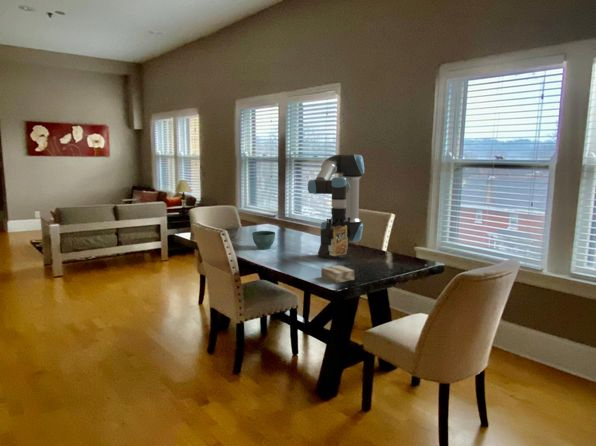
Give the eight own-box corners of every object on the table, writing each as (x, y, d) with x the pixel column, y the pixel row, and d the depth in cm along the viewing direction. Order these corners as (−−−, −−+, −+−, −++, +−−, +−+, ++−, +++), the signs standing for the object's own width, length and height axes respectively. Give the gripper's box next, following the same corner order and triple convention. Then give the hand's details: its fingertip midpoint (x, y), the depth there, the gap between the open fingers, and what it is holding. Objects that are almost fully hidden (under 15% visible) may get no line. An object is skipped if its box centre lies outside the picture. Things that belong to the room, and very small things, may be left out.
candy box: (334, 256, 224) (334, 227, 222) (328, 255, 227) (329, 226, 225) (347, 254, 229) (347, 225, 227) (341, 252, 232) (342, 224, 230)
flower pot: (278, 249, 300) (278, 234, 298) (255, 251, 295) (255, 235, 293) (271, 245, 315) (271, 230, 313) (249, 246, 310) (249, 231, 308)
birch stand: (339, 273, 239) (339, 265, 238) (354, 279, 228) (354, 270, 227) (321, 277, 233) (321, 268, 232) (336, 283, 222) (336, 273, 221)
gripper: (350, 205, 233) (349, 246, 237) (317, 207, 222) (316, 251, 225) (359, 206, 227) (358, 249, 230) (325, 209, 215) (325, 253, 219)
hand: (338, 250), depth 228 cm, fingers closed on candy box, 9 cm apart
